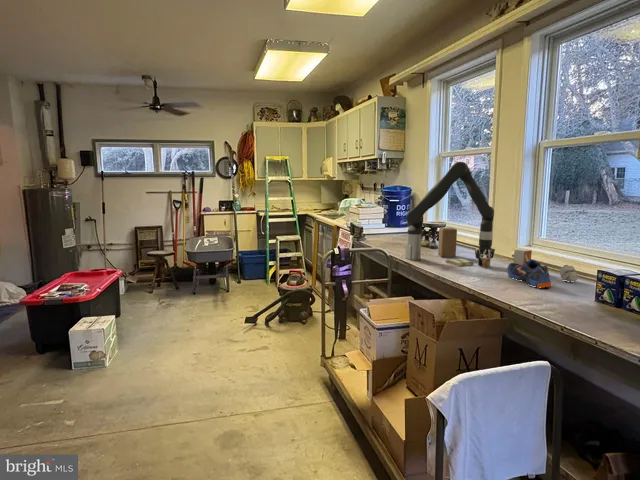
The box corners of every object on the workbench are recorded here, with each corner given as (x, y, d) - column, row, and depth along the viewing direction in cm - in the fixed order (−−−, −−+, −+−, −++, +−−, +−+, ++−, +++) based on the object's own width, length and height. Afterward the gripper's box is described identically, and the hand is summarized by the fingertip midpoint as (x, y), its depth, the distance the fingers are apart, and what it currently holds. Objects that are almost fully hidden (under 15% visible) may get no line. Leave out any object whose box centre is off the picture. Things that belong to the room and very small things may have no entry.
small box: (522, 273, 241) (524, 251, 239) (512, 271, 246) (514, 249, 244) (530, 271, 245) (532, 249, 243) (520, 269, 251) (521, 248, 249)
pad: (457, 266, 259) (457, 263, 259) (445, 262, 270) (445, 259, 270) (473, 265, 263) (473, 261, 263) (461, 261, 274) (461, 258, 274)
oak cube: (483, 267, 257) (483, 259, 256) (477, 265, 261) (478, 257, 260) (489, 266, 258) (490, 258, 257) (484, 265, 263) (484, 257, 262)
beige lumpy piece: (573, 284, 222) (566, 268, 228) (581, 279, 217) (573, 262, 222) (563, 285, 221) (556, 268, 226) (571, 279, 216) (564, 263, 221)
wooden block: (456, 257, 287) (457, 229, 284) (441, 257, 287) (442, 229, 284) (451, 255, 297) (453, 227, 294) (437, 254, 297) (439, 227, 294)
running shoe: (520, 274, 239) (521, 253, 237) (560, 289, 207) (562, 264, 205) (500, 275, 237) (502, 253, 235) (538, 290, 205) (540, 265, 204)
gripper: (480, 239, 251) (478, 267, 254) (499, 238, 256) (497, 265, 259) (472, 238, 258) (470, 264, 261) (490, 237, 263) (488, 263, 266)
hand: (484, 265), depth 260 cm, fingers closed on oak cube, 5 cm apart
